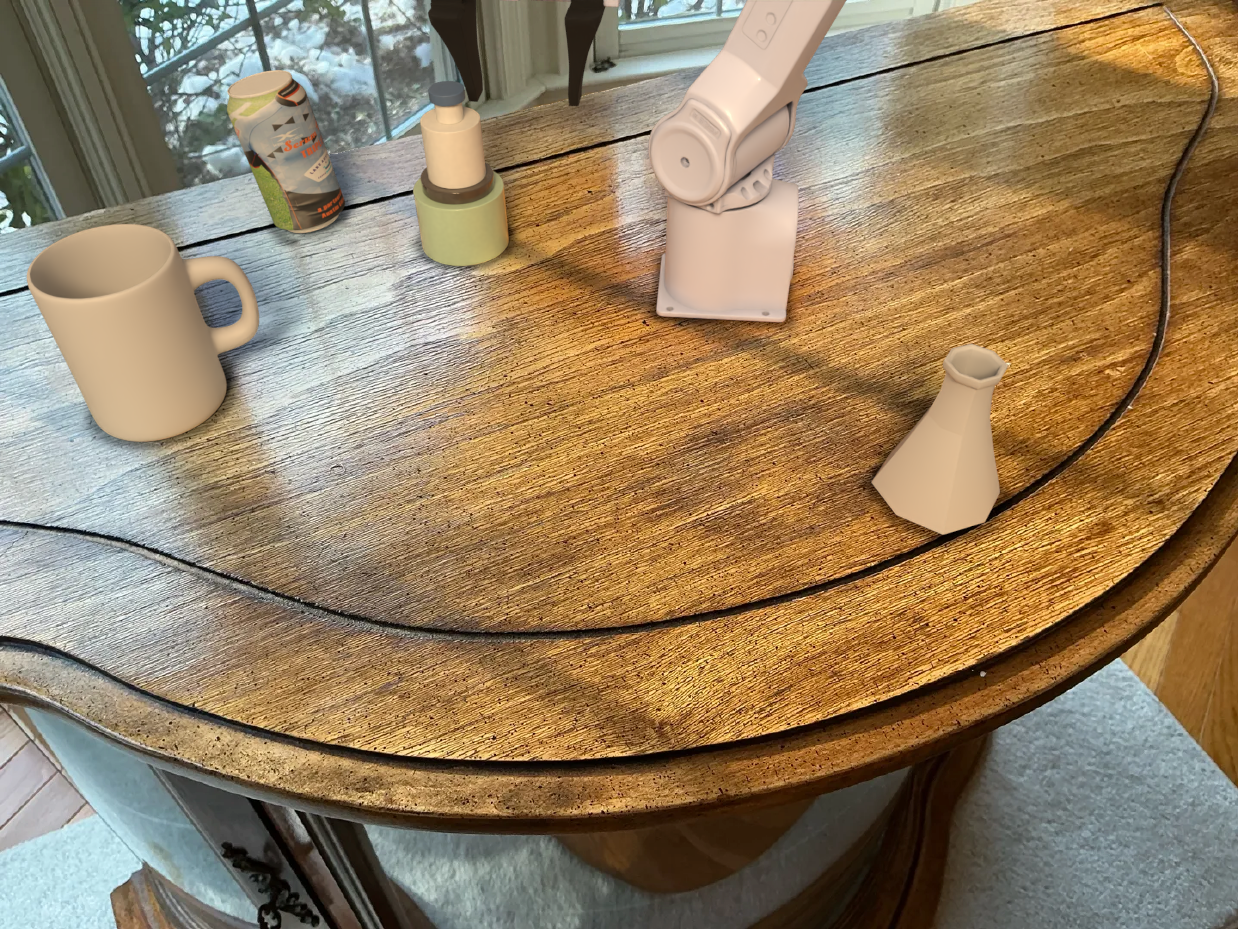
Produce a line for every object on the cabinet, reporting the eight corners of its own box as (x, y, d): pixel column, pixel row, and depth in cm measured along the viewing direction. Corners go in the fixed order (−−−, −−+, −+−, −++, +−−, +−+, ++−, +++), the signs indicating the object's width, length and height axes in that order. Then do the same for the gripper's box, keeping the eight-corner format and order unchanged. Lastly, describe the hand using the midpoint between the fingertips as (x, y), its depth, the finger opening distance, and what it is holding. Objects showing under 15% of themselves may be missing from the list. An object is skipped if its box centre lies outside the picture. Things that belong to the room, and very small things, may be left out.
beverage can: (331, 246, 79) (296, 102, 71) (246, 236, 80) (202, 93, 72) (360, 206, 84) (331, 66, 75) (280, 197, 85) (242, 58, 76)
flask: (925, 433, 64) (963, 306, 57) (1020, 497, 60) (1074, 369, 53) (849, 483, 60) (879, 355, 53) (944, 554, 56) (990, 426, 49)
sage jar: (515, 221, 82) (509, 154, 78) (500, 268, 77) (493, 199, 73) (432, 217, 83) (422, 150, 78) (413, 264, 78) (401, 195, 73)
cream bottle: (490, 161, 77) (482, 76, 72) (480, 190, 74) (470, 102, 69) (435, 159, 77) (423, 73, 72) (422, 187, 74) (408, 100, 69)
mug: (103, 460, 62) (29, 318, 54) (87, 382, 67) (17, 243, 60) (292, 401, 66) (249, 261, 58) (263, 333, 71) (219, 196, 64)
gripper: (388, -86, 63) (419, 117, 73) (613, -79, 62) (614, 126, 72) (416, -117, 68) (441, 76, 78) (624, -111, 67) (624, 84, 77)
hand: (525, 98), depth 75 cm, fingers open, 7 cm apart
